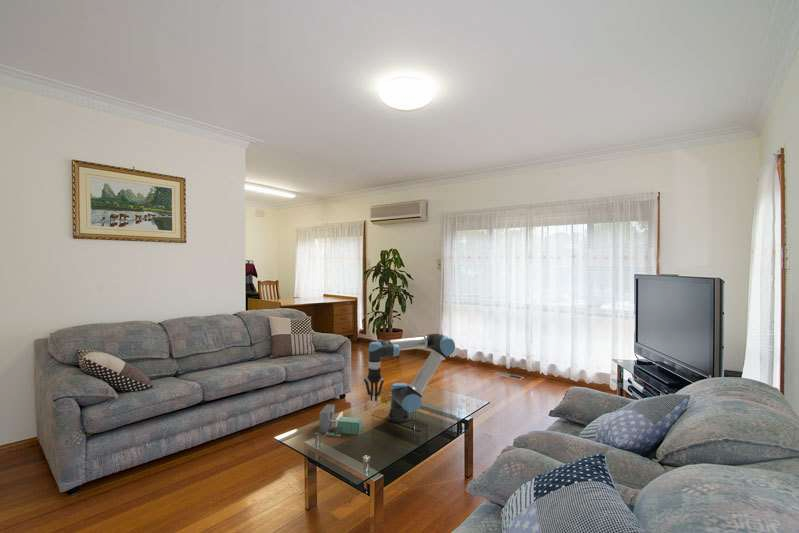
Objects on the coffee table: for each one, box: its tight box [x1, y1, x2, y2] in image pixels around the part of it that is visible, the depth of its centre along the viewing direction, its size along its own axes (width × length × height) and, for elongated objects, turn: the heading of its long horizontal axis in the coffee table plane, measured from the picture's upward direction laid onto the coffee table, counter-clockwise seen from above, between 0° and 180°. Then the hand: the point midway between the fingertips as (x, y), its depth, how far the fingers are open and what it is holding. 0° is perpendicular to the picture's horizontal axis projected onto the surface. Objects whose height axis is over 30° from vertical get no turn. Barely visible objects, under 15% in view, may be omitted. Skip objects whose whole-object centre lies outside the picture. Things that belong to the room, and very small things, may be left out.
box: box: [337, 416, 363, 436], centre depth 225 cm, size 7×14×8 cm, turn 83°
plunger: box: [330, 411, 344, 434], centre depth 227 cm, size 13×16×8 cm
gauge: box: [318, 403, 342, 437], centre depth 227 cm, size 14×16×12 cm
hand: (373, 406), depth 226 cm, fingers closed
